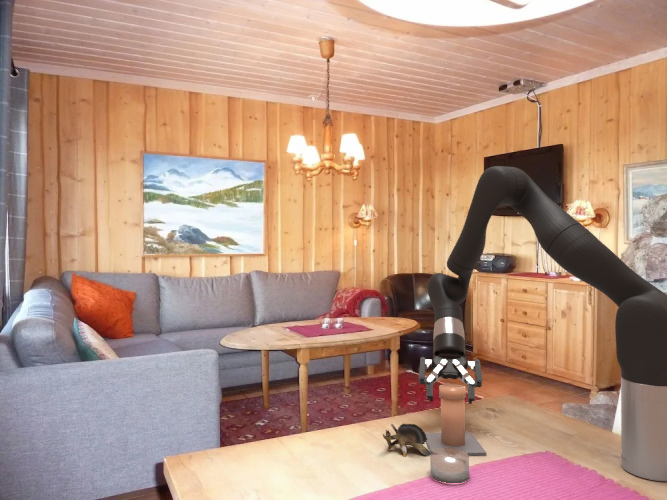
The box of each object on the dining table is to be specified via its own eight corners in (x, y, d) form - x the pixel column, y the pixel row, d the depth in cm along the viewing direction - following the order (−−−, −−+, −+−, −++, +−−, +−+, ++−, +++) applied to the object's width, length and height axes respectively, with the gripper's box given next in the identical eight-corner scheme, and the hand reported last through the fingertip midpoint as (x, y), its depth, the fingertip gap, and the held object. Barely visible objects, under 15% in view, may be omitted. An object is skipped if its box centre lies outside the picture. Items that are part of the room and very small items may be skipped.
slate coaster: (471, 434, 112) (471, 432, 112) (486, 455, 101) (486, 452, 101) (422, 435, 112) (422, 432, 112) (432, 456, 101) (432, 453, 101)
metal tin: (463, 467, 96) (463, 447, 96) (473, 485, 89) (473, 463, 89) (427, 468, 96) (427, 447, 96) (434, 485, 89) (434, 463, 89)
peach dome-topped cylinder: (462, 436, 110) (462, 383, 110) (469, 447, 104) (469, 390, 104) (437, 437, 110) (436, 383, 110) (442, 447, 104) (442, 391, 104)
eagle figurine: (383, 455, 100) (428, 450, 97) (380, 418, 104) (423, 413, 101) (391, 462, 106) (434, 458, 104) (388, 427, 110) (429, 423, 108)
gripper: (419, 330, 122) (418, 391, 110) (480, 332, 119) (484, 394, 108) (420, 347, 127) (418, 407, 116) (478, 349, 124) (482, 410, 113)
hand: (450, 401), depth 112 cm, fingers open, 8 cm apart
